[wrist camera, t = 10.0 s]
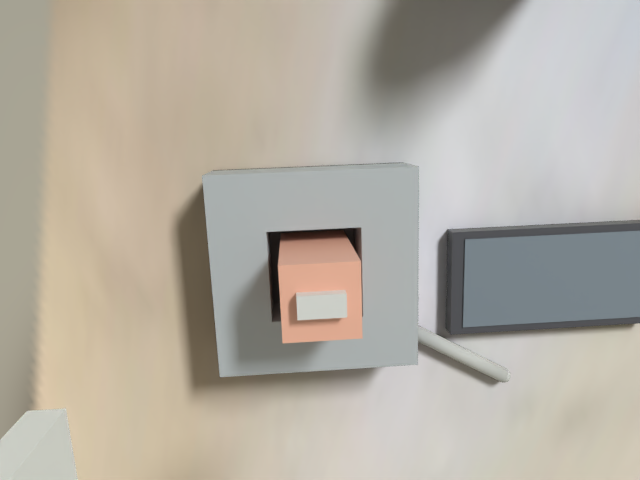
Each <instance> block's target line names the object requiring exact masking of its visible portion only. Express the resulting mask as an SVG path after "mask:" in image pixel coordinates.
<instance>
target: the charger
mask: <svg viewBox="0 0 640 480" xmlns="http://www.w3.org/2000/svg"><path fill="white" fill-rule="evenodd" d="M278 275H279V292H280V309H281V325H282V342H283V343H298V342H314V341H330V340H346V339H363V333H362V288H361V260H360V259H359V257H358V255H357V253H356V252H355V250H354V248H353V246H352V244H351V243H350V241H349V239H348V237H347V236H346V234H345V232H344V230H327V231H307V232H288V233H281V236H280V247H279V259H278Z"/></svg>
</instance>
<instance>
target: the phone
mask: <svg viewBox="0 0 640 480" xmlns="http://www.w3.org/2000/svg"><path fill="white" fill-rule="evenodd" d="M634 323H640V220H630V221H609V222H589V223H569V224H548V225H528V226H507V227H487V228H467V229H448V244H447V299H446V329H447V331H448V332H449V333H450V334H451V335H452V334H468V333H485V332H501V331H518V330H534V329H551V328H568V327H584V326H601V325H617V324H634Z"/></svg>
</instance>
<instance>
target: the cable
mask: <svg viewBox="0 0 640 480" xmlns="http://www.w3.org/2000/svg"><path fill="white" fill-rule="evenodd" d="M418 342H419V343H422V344H424V345H426V346H428V347H430V348H432V349H434V350H436V351H438V352H440V353H442V354H444V355H446V356H448V357H450V358H452V359H454V360H457V361H459V362H461V363H463V364H465V365H467V366H469V367H471V368H473V369H475V370H477V371H479V372H481V373H483V374H485V375H487V376H489V377H492V378H494V379H496V380H498V381H500V382H508V381H509V380H510V377H511V374H510V372H509V371H508V370H507V369H506V368H504V367H502V366H500V365H498V364H496V363H494V362H492V361H490V360H487V359H485V358H483V357H481V356H479V355H477V354H475V353H473V352H471V351H469V350H467V349H465V348H463V347H461V346H459V345H457V344H455V343H453V342H451V341H449V340H447V339H445V338H443V337H441V336H439V335H437V334H435V333H433V332H431V331H429V330H426V329H424V328H422V327H420V326H418Z"/></svg>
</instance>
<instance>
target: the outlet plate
mask: <svg viewBox="0 0 640 480" xmlns="http://www.w3.org/2000/svg"><path fill="white" fill-rule="evenodd" d="M202 181H203V192H204V204H205V215H206V227H207V238H208V249H209V261H210V272H211V283H212V295H213V306H214V318H215V329H216V340H217V352H218V363H219V374H220V377H231V376H247V375H263V374H278V373H294V372H310V371H326V370H342V369H357V368H373V367H389V366H405V365H418V241H419V166H415V165H411V164H407V163H379V164H355V165H331V166H307V167H283V168H259V169H235V170H213V171H211V172H209V173H207V174H205V175H202ZM327 230H344V232H345V234H346V236H347V237H348V239H349V241H350V243H351V244H352V246H353V248H354V250H355V252H356V253H357V255H358V257H359V259H360V260H361V288H362V333H363V339H346V340H330V341H314V342H298V343H283V342H282V325H281V309H280V292H279V275H278V259H279V247H280V236H281V233H288V232H307V231H327Z"/></svg>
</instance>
